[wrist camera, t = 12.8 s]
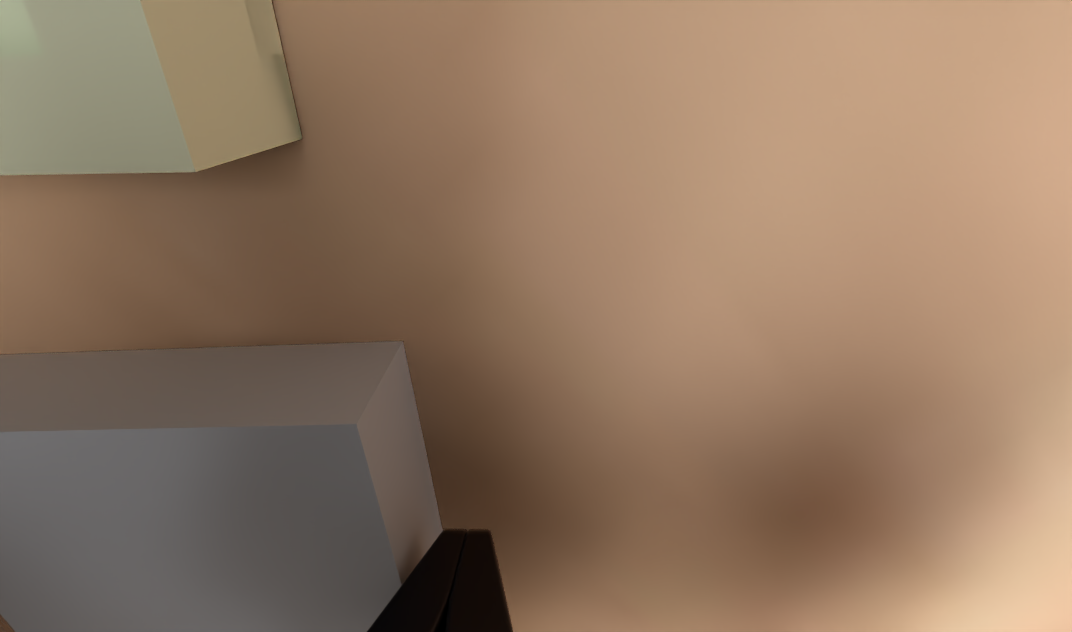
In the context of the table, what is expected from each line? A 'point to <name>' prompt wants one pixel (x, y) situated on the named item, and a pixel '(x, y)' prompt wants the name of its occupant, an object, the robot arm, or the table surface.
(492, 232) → the table surface
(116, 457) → the board
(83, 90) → the tray
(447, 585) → the robot arm
